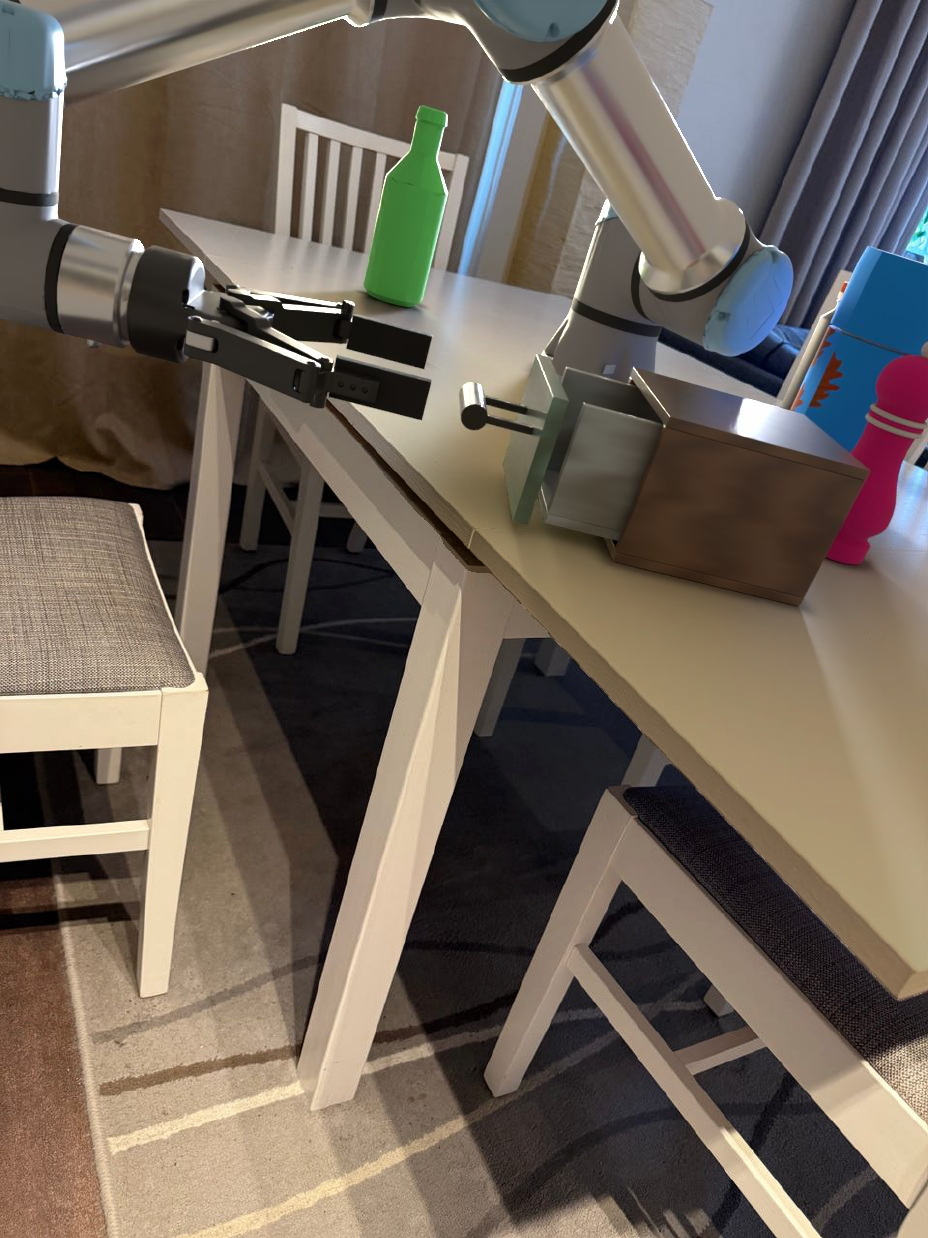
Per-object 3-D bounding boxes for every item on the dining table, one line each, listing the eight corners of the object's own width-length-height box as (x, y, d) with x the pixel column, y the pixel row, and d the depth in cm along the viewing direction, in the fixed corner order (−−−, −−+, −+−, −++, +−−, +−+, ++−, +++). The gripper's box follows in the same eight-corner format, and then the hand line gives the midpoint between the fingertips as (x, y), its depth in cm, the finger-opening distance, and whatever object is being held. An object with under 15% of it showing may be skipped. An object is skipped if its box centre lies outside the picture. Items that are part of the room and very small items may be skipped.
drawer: (440, 505, 66) (476, 376, 61) (440, 449, 76) (470, 335, 72) (692, 566, 69) (745, 447, 64) (658, 504, 79) (701, 398, 75)
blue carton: (851, 496, 104) (966, 276, 92) (857, 524, 94) (985, 283, 83) (761, 463, 105) (861, 243, 94) (758, 488, 96) (869, 246, 84)
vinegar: (765, 418, 129) (828, 276, 120) (788, 418, 134) (851, 281, 124) (805, 437, 125) (874, 292, 116) (827, 436, 130) (895, 297, 120)
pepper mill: (783, 524, 87) (882, 319, 78) (851, 542, 88) (957, 342, 79) (805, 555, 81) (916, 337, 72) (878, 575, 82) (998, 361, 72)
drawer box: (613, 561, 68) (670, 416, 62) (587, 493, 79) (633, 366, 74) (800, 606, 70) (871, 470, 65) (747, 534, 82) (804, 414, 76)
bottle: (412, 312, 126) (458, 116, 114) (354, 293, 127) (394, 95, 115) (426, 304, 134) (471, 119, 122) (371, 286, 134) (411, 101, 123)
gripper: (176, 314, 76) (418, 378, 80) (74, 398, 55) (411, 480, 58) (186, 222, 73) (439, 292, 76) (81, 272, 51) (440, 368, 54)
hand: (428, 374), depth 67 cm, fingers open, 13 cm apart
